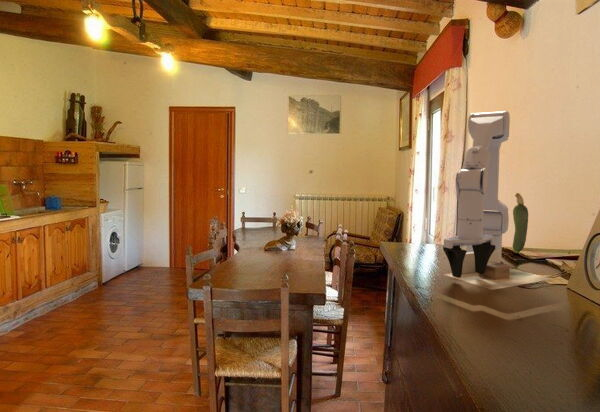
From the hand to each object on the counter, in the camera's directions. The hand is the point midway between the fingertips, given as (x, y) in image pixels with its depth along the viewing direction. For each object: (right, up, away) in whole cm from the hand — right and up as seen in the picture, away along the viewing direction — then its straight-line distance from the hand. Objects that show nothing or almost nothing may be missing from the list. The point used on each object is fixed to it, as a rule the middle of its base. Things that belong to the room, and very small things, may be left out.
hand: (468, 274), depth 102 cm
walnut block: (+8, -1, +4) cm, 9 cm away
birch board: (+9, -2, +4) cm, 10 cm away
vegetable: (+31, +1, +35) cm, 47 cm away
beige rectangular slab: (+6, 0, +10) cm, 12 cm away
